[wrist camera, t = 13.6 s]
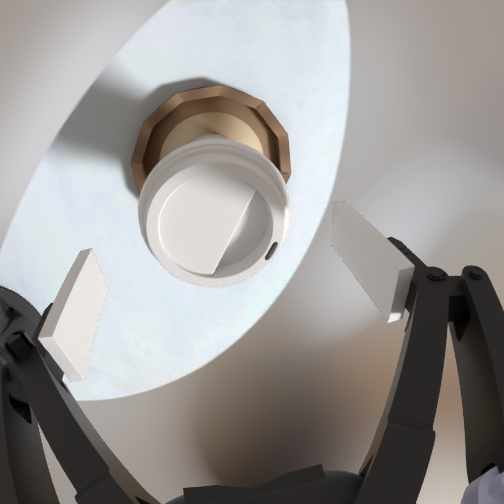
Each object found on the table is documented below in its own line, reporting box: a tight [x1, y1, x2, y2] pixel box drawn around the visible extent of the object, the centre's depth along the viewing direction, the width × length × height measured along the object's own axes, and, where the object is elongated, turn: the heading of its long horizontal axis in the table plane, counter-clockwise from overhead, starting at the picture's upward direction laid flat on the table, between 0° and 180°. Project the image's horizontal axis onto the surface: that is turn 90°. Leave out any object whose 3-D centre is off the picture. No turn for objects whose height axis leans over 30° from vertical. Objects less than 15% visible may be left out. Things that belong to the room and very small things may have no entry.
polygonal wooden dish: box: [131, 85, 291, 196], centre depth 30 cm, size 16×16×2 cm
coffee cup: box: [138, 133, 290, 287], centre depth 24 cm, size 10×10×15 cm
